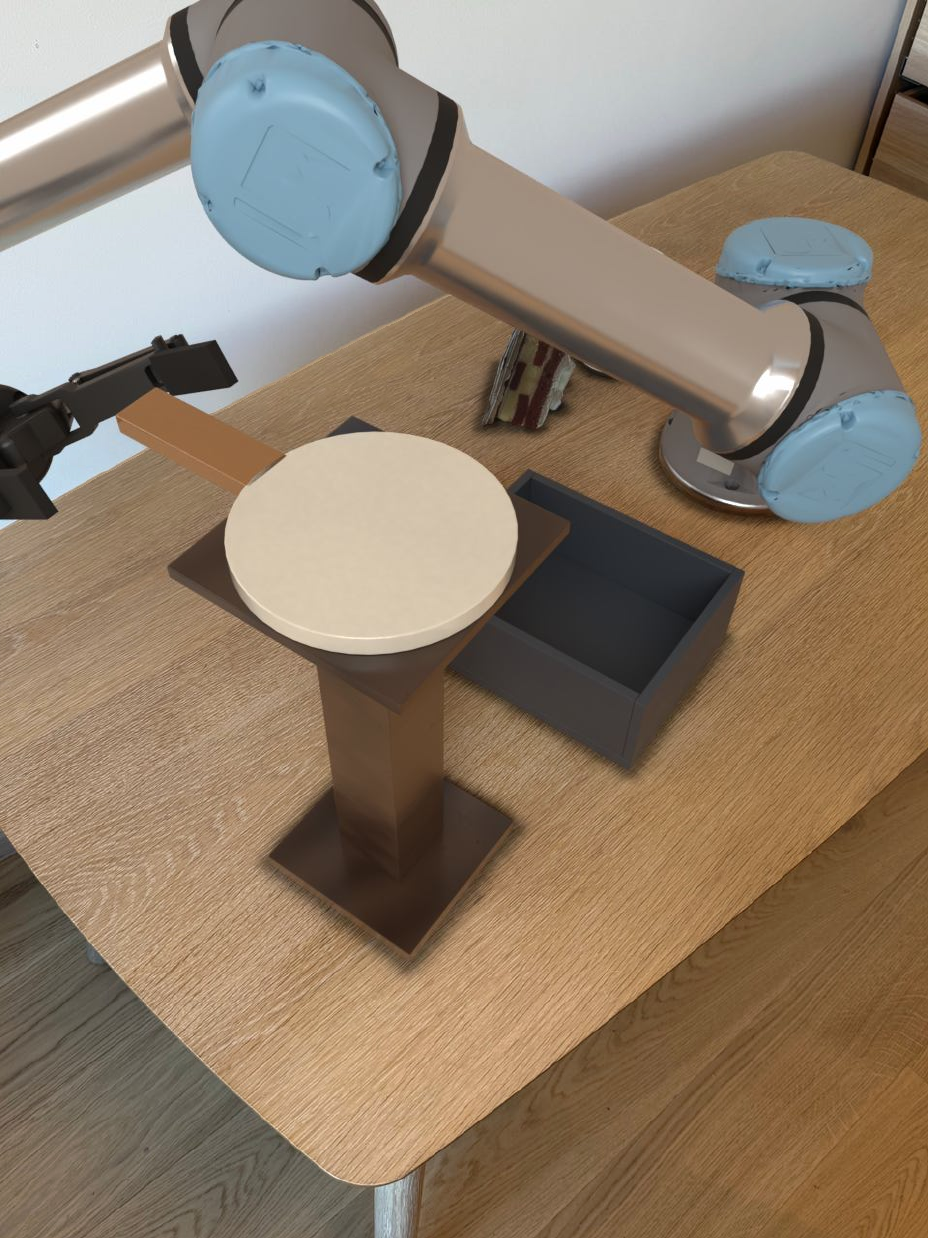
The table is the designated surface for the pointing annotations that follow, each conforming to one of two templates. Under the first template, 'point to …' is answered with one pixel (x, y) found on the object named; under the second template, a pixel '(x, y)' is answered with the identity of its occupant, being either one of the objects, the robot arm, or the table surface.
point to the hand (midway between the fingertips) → (136, 424)
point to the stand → (385, 760)
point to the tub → (603, 626)
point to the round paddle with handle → (347, 528)
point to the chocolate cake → (528, 382)
